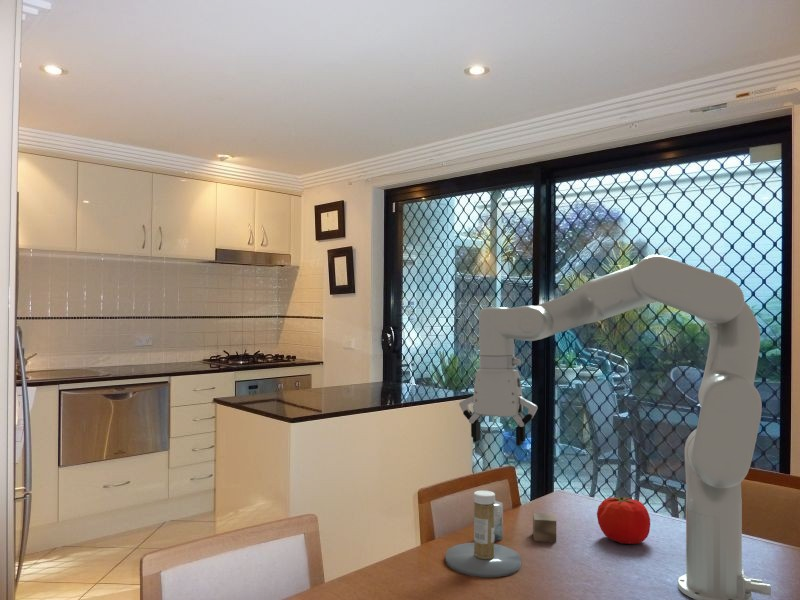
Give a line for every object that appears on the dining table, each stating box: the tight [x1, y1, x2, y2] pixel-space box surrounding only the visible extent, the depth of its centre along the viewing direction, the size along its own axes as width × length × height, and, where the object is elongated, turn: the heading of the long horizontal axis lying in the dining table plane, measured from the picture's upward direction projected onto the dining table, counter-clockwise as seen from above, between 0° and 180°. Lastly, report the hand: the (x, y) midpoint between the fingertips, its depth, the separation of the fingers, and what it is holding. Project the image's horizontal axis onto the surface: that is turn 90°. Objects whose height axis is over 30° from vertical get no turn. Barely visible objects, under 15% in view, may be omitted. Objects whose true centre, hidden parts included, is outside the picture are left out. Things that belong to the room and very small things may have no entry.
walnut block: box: [532, 512, 557, 543], centre depth 146 cm, size 5×5×5 cm
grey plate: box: [445, 542, 522, 578], centre depth 131 cm, size 16×16×1 cm
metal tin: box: [494, 500, 504, 542], centre depth 145 cm, size 5×5×8 cm
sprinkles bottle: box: [473, 490, 496, 559], centre depth 131 cm, size 5×5×13 cm
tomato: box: [596, 495, 651, 545], centre depth 144 cm, size 12×12×10 cm
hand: (498, 442), depth 132 cm, fingers open, 9 cm apart
